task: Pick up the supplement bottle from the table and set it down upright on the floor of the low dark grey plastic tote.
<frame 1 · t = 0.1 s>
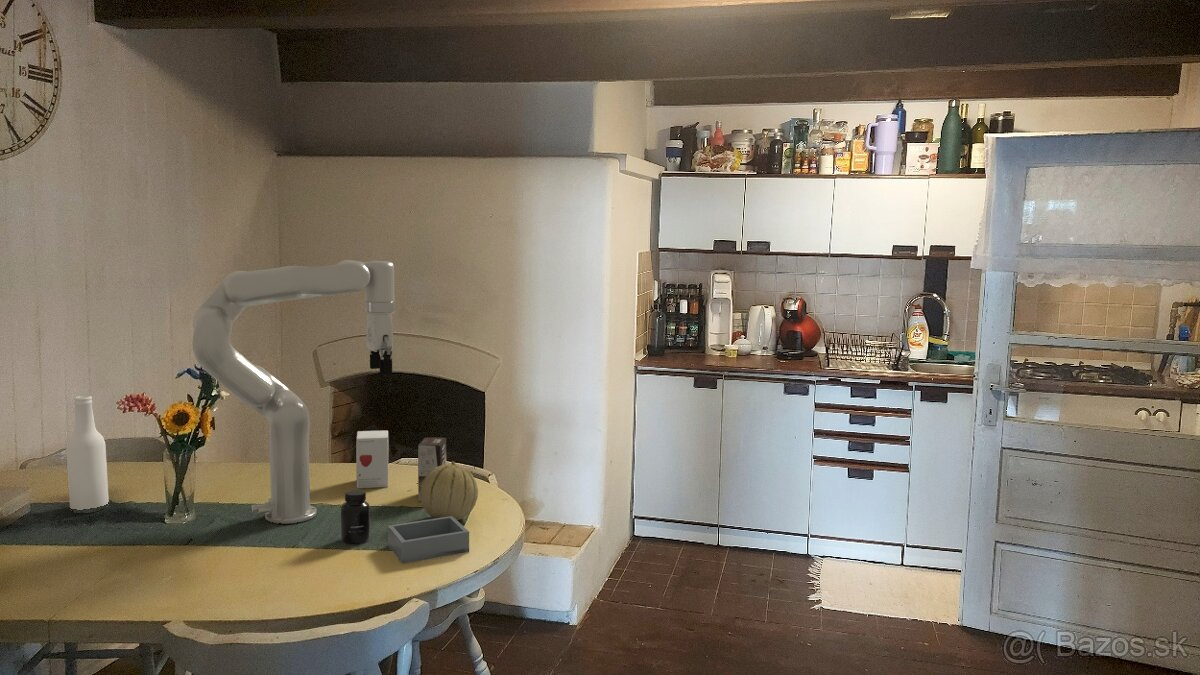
hand: (380, 371, 232), 37 cm above the table, tool pointing down, fingers open, 9 cm apart
cantaloupe: (449, 520, 226), on the table
tote: (428, 548, 205), on the table
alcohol: (89, 509, 228), on the table
supplement bottle: (355, 540, 210), on the table
supplement box: (372, 484, 255), on the table
coffee box: (432, 497, 244), on the table
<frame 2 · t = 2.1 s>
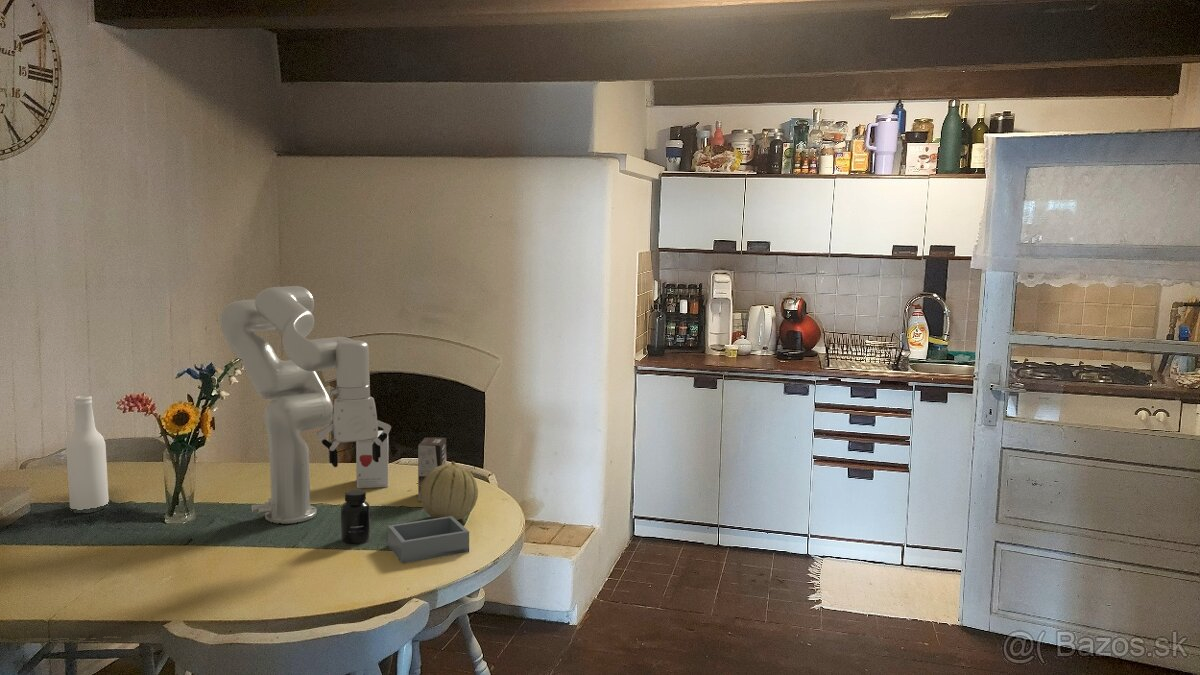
hand: (355, 463, 207), 19 cm above the table, tool pointing down, fingers open, 9 cm apart
nothing on the table moved.
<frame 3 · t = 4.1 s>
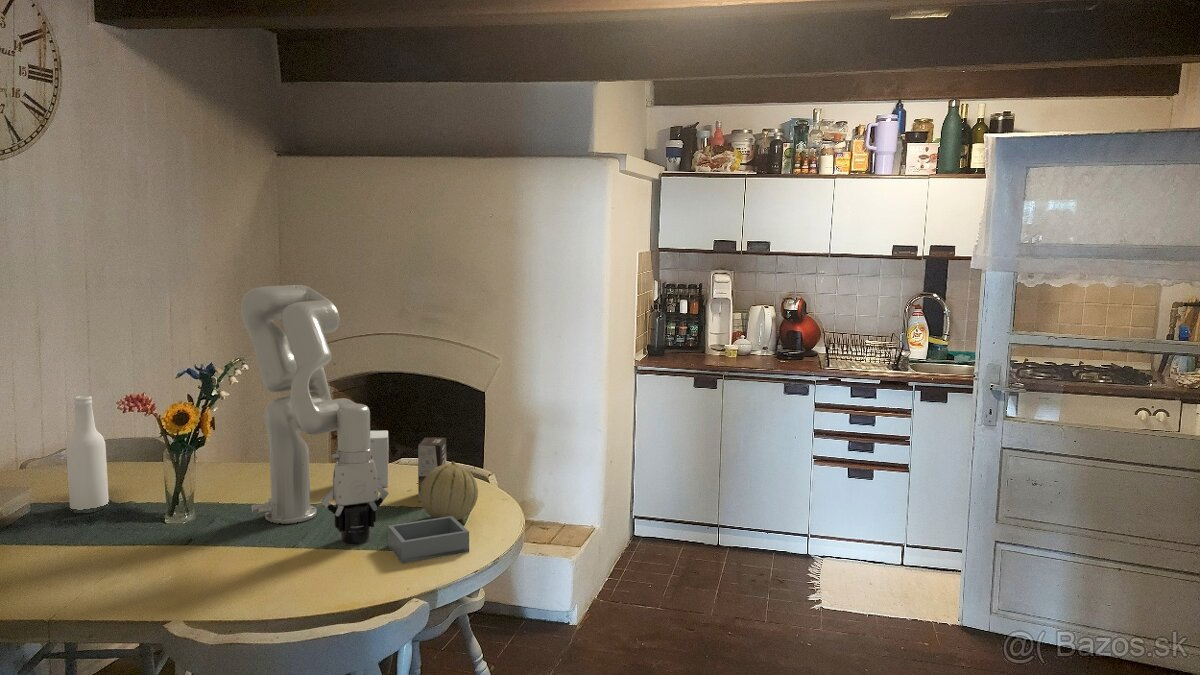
hand: (355, 527, 210), 3 cm above the table, tool pointing down, fingers closed on supplement bottle, 6 cm apart
supplement bottle: (355, 540, 210), on the table, touching gripper
everything else where it was.
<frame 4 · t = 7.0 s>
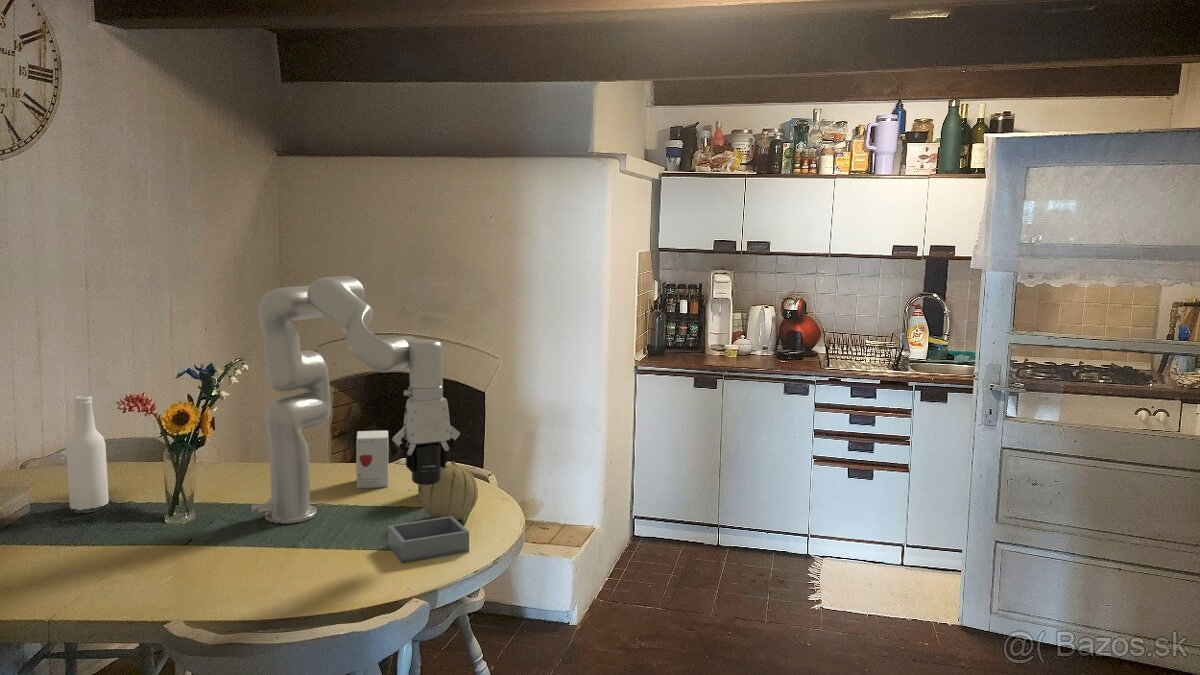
hand: (426, 467, 203), 20 cm above the table, tool pointing down, fingers closed on supplement bottle, 6 cm apart
supplement bottle: (426, 481, 203), point 16 cm above the table, touching gripper
everything else where it was.
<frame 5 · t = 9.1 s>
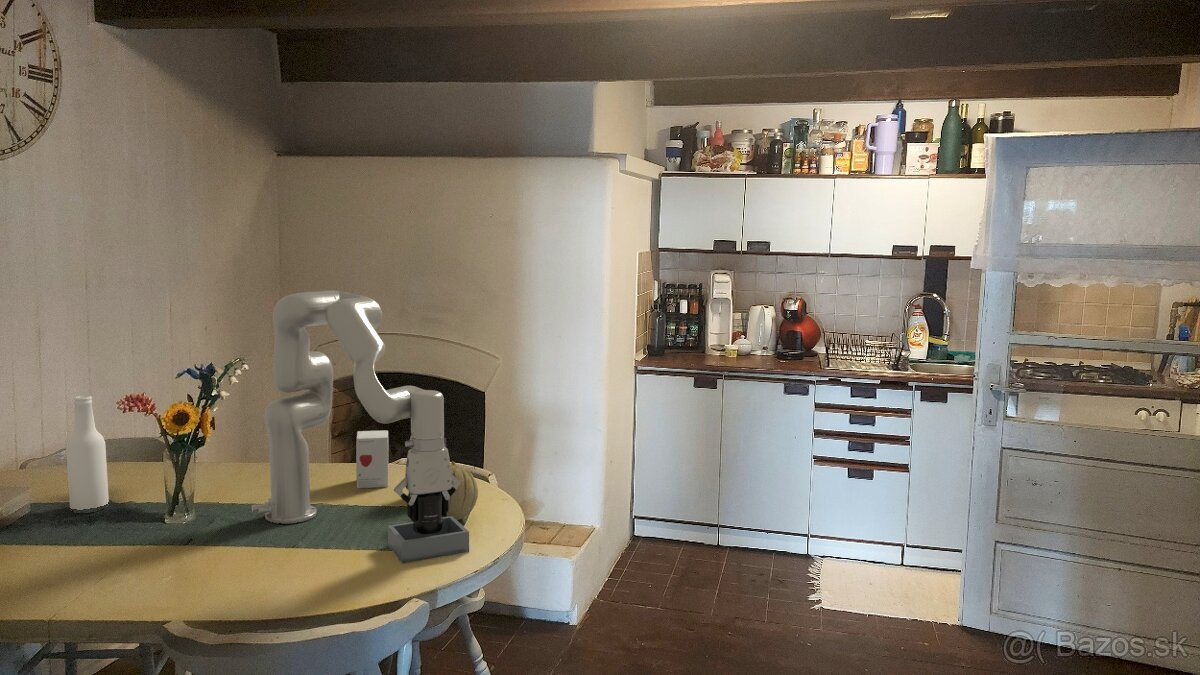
hand: (428, 516, 204), 8 cm above the table, tool pointing down, fingers closed on supplement bottle, 6 cm apart
supplement bottle: (428, 530, 205), point 4 cm above the table, touching gripper
everything else where it was.
when the fingers open (6 cm above the table, at t = 10.4 s): supplement bottle drops 2 cm, resting on tote.
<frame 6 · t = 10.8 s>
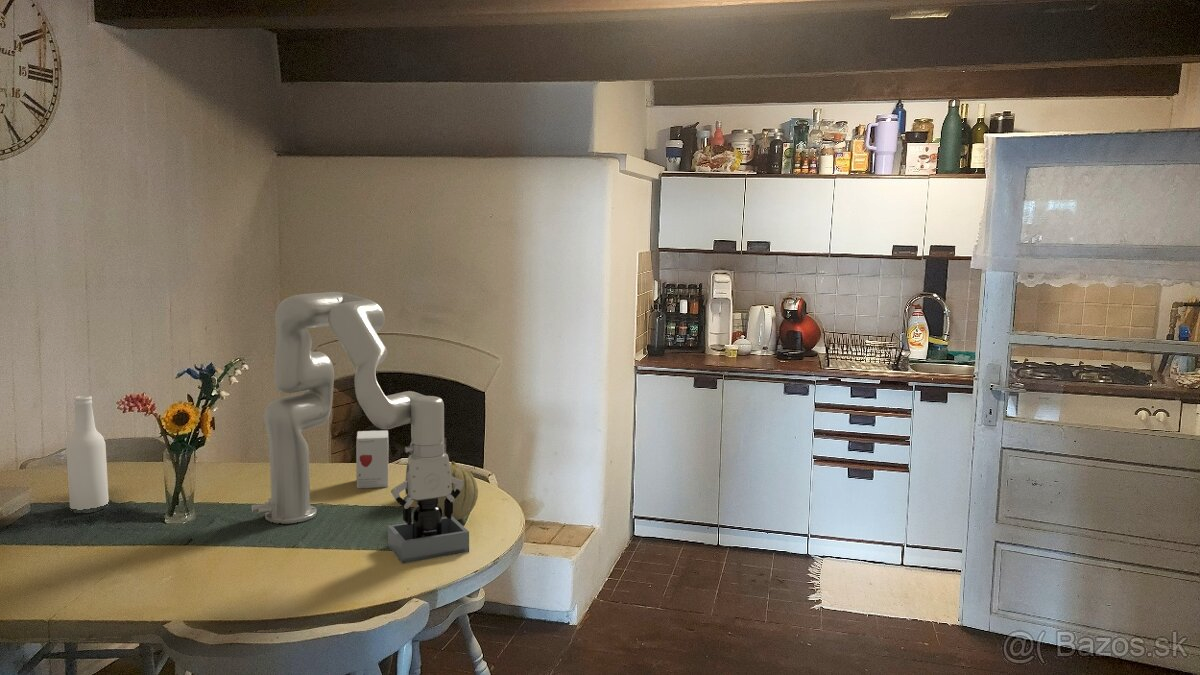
hand: (428, 520, 205), 7 cm above the table, tool pointing down, fingers open, 9 cm apart
supplement bottle: (427, 545, 205), point 1 cm above the table, touching tote
everything else where it was.
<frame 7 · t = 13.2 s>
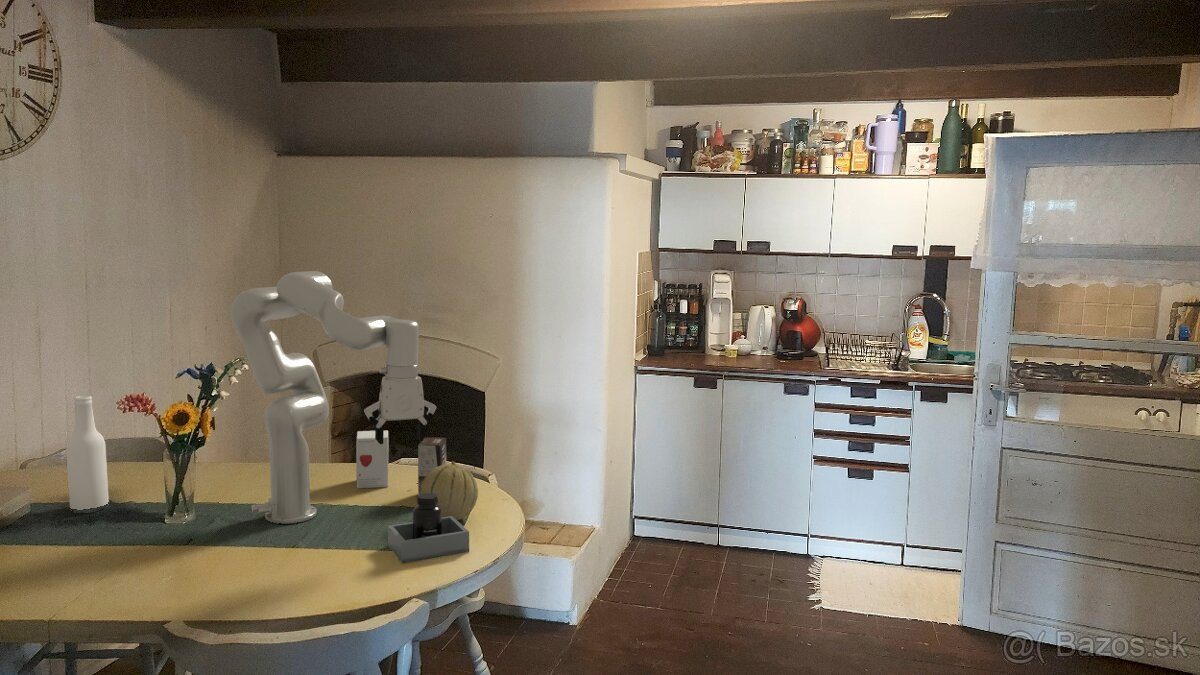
hand: (400, 441, 209), 24 cm above the table, tool pointing down, fingers open, 9 cm apart
nothing on the table moved.
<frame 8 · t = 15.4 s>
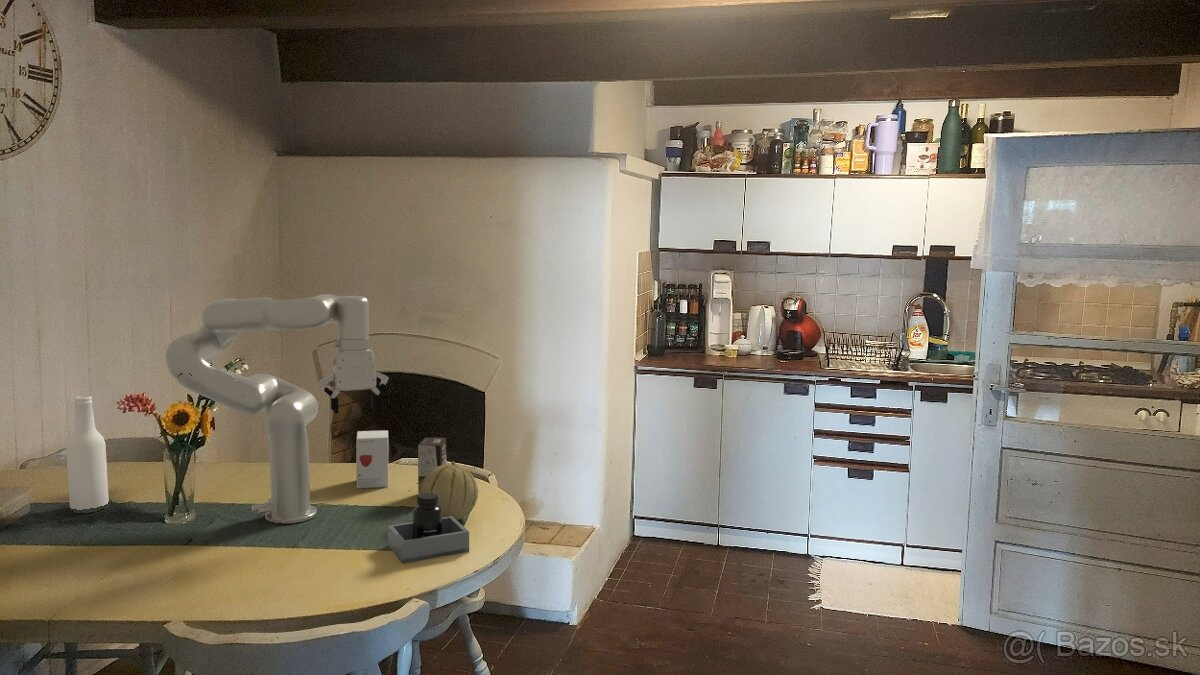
hand: (354, 410, 222), 28 cm above the table, tool pointing down, fingers open, 9 cm apart
nothing on the table moved.
at the end: supplement bottle inside the target area on the tote (0.2 cm from its centre), point 0.8 cm above the tote's base; supplement bottle tilted 0°; the gripper is holding nothing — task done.
